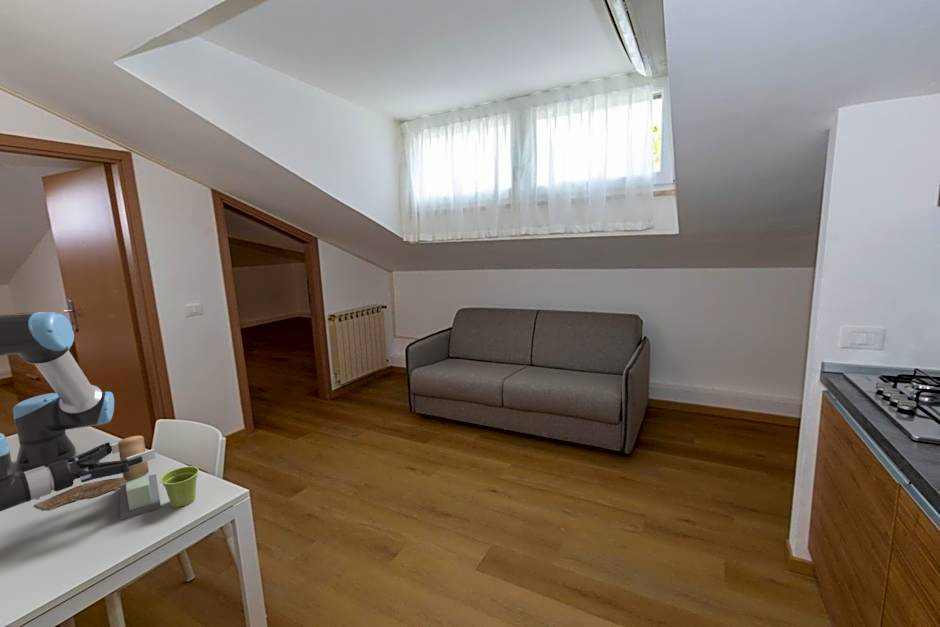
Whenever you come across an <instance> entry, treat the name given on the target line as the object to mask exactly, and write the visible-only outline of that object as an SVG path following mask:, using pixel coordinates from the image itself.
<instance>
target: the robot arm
mask: <svg viewBox="0 0 940 627" xmlns="http://www.w3.org/2000/svg"><path fill="white" fill-rule="evenodd" d="M74 334H75V333H74V330H73V326H72V323H71V322H70V321H69V319H68V318H67V317H66V316H65V315H64V314H61V313H59V312H55V311H54V312H51V311H49V312H48V311H37V312H25V313H12V314H0V356H8V355H10V356H11V355H18V356H19V357H20V359H21V360H22V361H23V362H25V363H27V364H30V365H34V366H35V367H36V369H37V370H38V371H39V372H40V374H41V376H43V377H44V379H45V381H46V382H47V383H48V384H49V386H50V387H51V388H52V390H53V391H54V392H51V393H46V394H40V395H37V396H33V397H29V398H27V399H25V400H22V401H20V402H18V403H16V404H15V405H14V407H13V409H12V411H13V412H12V413H13V414H12V415H13V421H14V424H15V429H16V434H17V438H18V443H19V448H18V452H17V456H16V460H15V466H16V469H17V470H18V471H22V472H20V473H17V474H15V473H14V467H13V462H12V456H11V452H10V451H11V448H10V446H9V444H8V441H7V438H6V436H5V434H4V433H1V432H0V512H2V511H5V510H8V509H11V508H14V507H16V506H19V505H22V504H25V503H28V502H30V501H33V500H40V499H41V498H42V497H45V496H47V495H50V494H51V493H52V492H56V493H57V492H60V491H62V490H65V489H67V488H70V487H72V486H74V481H75V480H76V479H80V483H86V482H89V481H91V480H96V479H101V478H106V477H111V476H116V475H121V474H123V473H126V472H128V471H129V467H132V466H134V465H137V464H140V463H143V462H146V461H147V462H148V461H151V460H154V459H156V450H155V448H152V449H148V450H146V451H145V452H142V453H139V454H136V455H133V456H130V457H128V458H126V460H120V459H119V460H113V461H111V460H110V461H104V462H100V461H101V460H103V459H104V458H106V457H107V456H109V455H111V454H113V455H114V454H117V453H119V448H118V442H116V443H112V444H110V441H109V442H105V443H102V444H100V445H98V446H96V447H94V448H91V449H90V450H89V449H88V450H87V451H85V452H83V453H81V454H79V455H76V454H77V451H76V446H75V445H74V444H73V442H72V440H71V439H70V438H69V437H68V435H67V433H66V431H67V430H72V429H74V430H75V429H81V428H88V427H94V426H96V427H98V426H100V425H105V424H108V423H110V422H111V421H112V419H113V415H114V411H115V398H114V397H115V396H114V393H113V392H112V391H102V390H101V388H100V387H99V386H97V385H94V384H91V383H90V381H89V380H88V378H87V376H86V375H85V374H84V371H83V370H82V369H81V367H80V366H79V364H78V362H77V361H76V360H75V358H74V356H73V355H72V353H71V352H70V349H71V347H72V346H73V343H74V341H75V340H74V339H75V335H74ZM75 455H76V456H75Z"/></svg>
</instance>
